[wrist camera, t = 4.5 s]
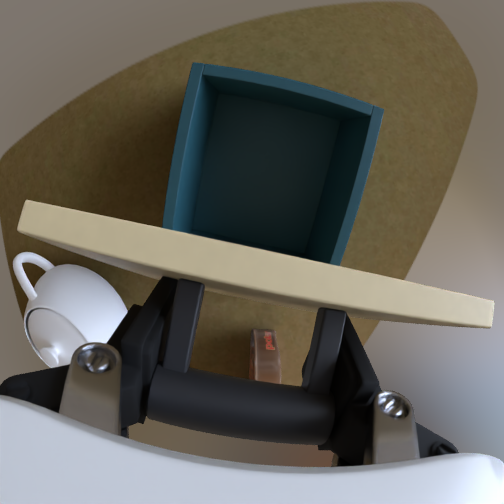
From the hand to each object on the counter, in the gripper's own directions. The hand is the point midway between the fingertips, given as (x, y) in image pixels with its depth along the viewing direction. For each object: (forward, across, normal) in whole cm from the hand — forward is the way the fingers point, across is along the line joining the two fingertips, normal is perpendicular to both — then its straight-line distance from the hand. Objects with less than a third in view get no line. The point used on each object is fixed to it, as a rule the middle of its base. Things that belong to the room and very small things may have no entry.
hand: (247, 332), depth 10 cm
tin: (+20, -5, +18) cm, 27 cm away
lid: (+3, 0, -1) cm, 3 cm away
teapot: (+20, +17, +16) cm, 31 cm away
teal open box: (+19, 0, -4) cm, 19 cm away
